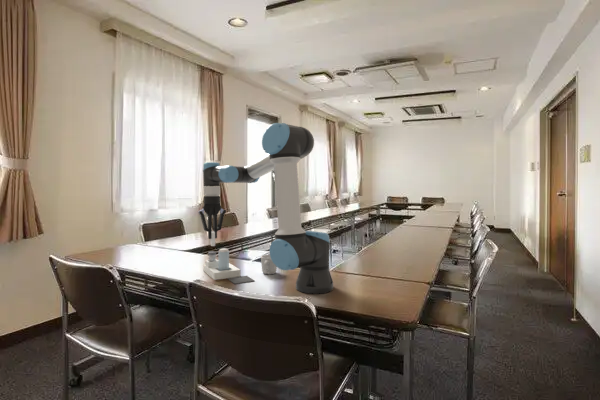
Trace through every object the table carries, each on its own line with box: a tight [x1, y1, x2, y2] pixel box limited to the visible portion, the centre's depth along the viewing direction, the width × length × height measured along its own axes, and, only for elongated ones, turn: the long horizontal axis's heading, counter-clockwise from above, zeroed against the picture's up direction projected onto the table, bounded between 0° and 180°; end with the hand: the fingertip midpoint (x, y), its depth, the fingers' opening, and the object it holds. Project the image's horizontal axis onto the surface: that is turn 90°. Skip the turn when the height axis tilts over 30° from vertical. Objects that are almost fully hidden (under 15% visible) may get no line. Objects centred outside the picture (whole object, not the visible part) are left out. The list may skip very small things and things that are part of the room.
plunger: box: [207, 251, 217, 262], centre depth 164 cm, size 4×4×6 cm
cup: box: [260, 254, 278, 275], centre depth 162 cm, size 11×8×8 cm
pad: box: [227, 275, 255, 285], centre depth 151 cm, size 9×9×1 cm
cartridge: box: [217, 248, 230, 271], centre depth 159 cm, size 5×5×12 cm
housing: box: [202, 258, 241, 281], centre depth 162 cm, size 18×12×6 cm, turn 30°
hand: (212, 245), depth 163 cm, fingers closed
